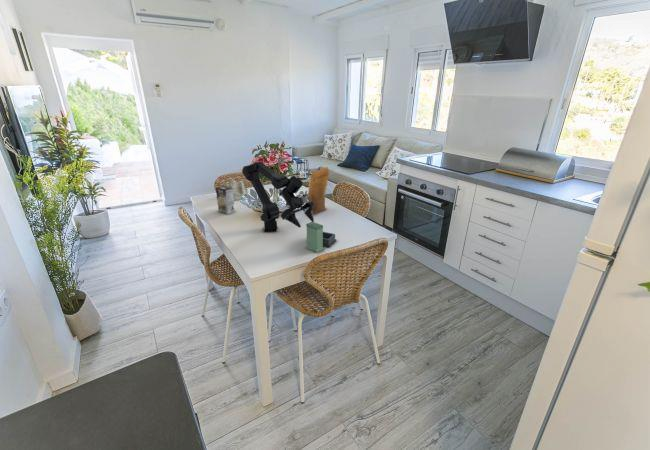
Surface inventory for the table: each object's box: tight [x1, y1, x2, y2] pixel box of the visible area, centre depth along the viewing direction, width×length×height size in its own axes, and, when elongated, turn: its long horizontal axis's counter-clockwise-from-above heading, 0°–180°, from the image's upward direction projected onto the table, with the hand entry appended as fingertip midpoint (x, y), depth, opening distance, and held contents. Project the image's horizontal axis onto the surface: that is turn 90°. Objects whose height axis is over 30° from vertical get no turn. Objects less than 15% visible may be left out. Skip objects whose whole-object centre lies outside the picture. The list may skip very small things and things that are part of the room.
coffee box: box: [215, 184, 236, 215], centre depth 198 cm, size 9×6×16 cm
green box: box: [305, 221, 324, 253], centre depth 153 cm, size 7×4×13 cm, turn 49°
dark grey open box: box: [323, 231, 337, 248], centre depth 162 cm, size 12×8×4 cm
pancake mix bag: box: [307, 166, 329, 215], centre depth 197 cm, size 7×19×28 cm, turn 139°
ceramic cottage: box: [225, 178, 249, 201], centre depth 226 cm, size 16×16×15 cm
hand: (306, 224), depth 154 cm, fingers open, 9 cm apart
